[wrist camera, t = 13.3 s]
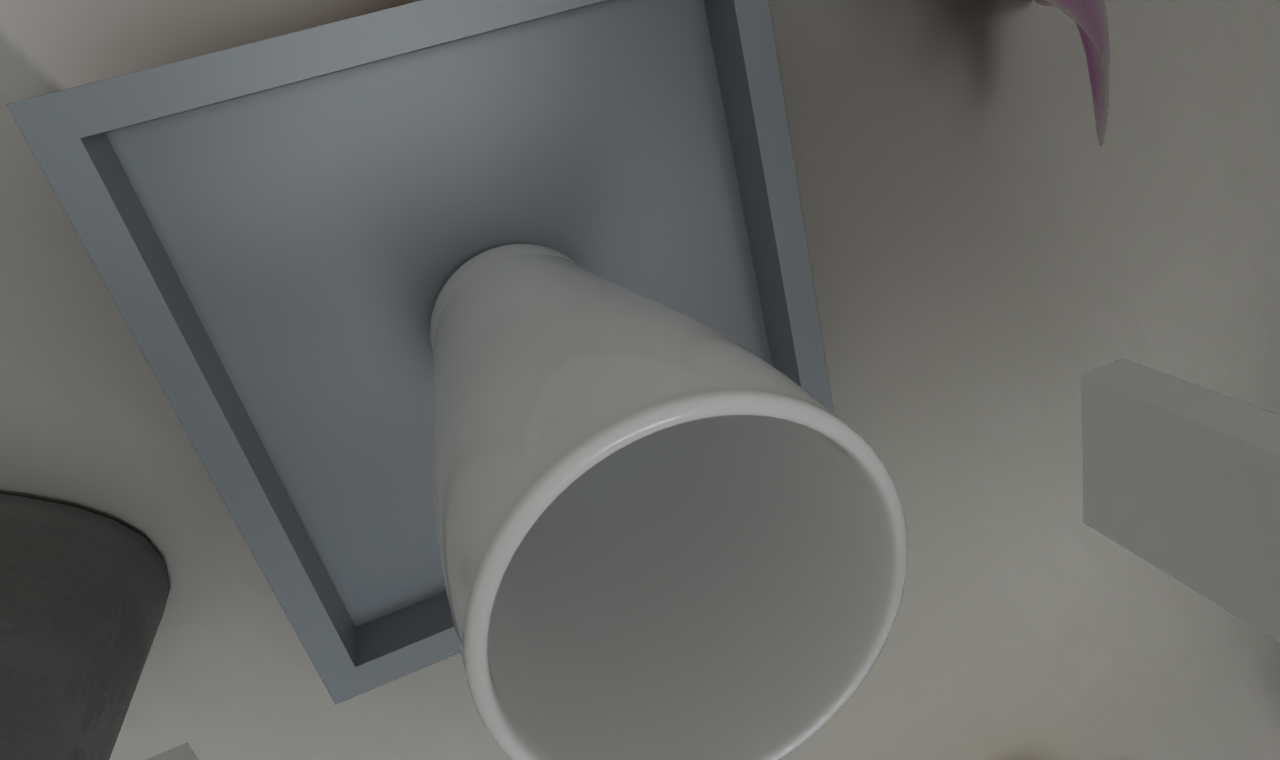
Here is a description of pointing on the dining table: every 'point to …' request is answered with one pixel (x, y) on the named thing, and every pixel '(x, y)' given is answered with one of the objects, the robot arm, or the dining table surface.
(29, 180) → the dining table surface
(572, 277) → the drinking glass
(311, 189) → the tray
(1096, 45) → the lily
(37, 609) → the flask
